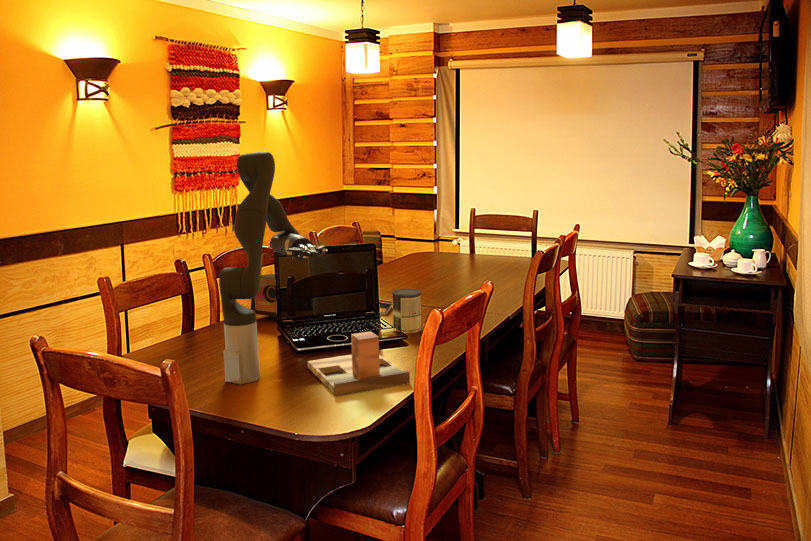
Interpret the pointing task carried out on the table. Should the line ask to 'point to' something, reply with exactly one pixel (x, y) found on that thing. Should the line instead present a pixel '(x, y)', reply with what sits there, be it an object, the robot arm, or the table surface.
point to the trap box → (344, 382)
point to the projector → (265, 295)
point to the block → (365, 354)
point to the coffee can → (407, 310)
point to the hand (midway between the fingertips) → (314, 255)
